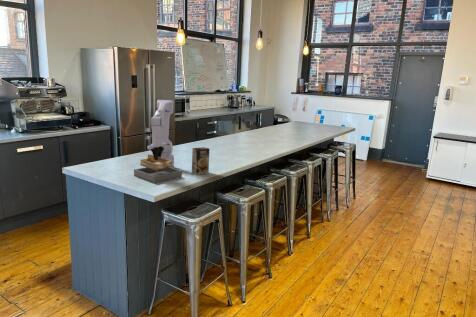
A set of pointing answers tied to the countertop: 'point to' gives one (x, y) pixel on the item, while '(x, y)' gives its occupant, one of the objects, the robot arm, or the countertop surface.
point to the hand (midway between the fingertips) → (157, 159)
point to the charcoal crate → (157, 174)
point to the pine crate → (156, 163)
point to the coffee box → (200, 161)
